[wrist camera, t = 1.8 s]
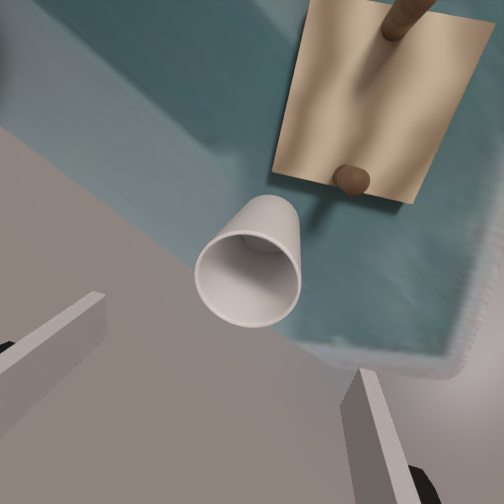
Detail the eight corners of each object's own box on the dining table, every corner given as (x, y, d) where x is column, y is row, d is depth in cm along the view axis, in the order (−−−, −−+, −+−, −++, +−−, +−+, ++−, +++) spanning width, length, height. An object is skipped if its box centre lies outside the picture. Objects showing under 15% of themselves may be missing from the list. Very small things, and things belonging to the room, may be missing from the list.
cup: (291, 260, 35) (286, 339, 20) (233, 247, 36) (189, 314, 21) (306, 202, 32) (314, 246, 17) (243, 188, 33) (199, 220, 18)
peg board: (273, 170, 31) (265, 176, 24) (311, 2, 25) (317, -60, 18) (405, 200, 30) (440, 217, 23) (480, 33, 24) (562, -20, 16)
